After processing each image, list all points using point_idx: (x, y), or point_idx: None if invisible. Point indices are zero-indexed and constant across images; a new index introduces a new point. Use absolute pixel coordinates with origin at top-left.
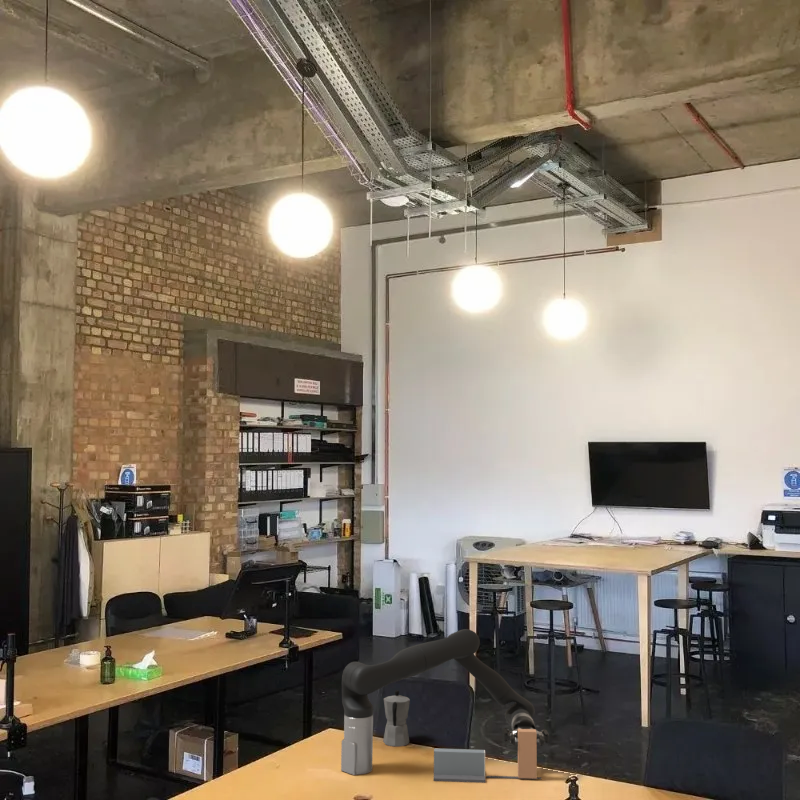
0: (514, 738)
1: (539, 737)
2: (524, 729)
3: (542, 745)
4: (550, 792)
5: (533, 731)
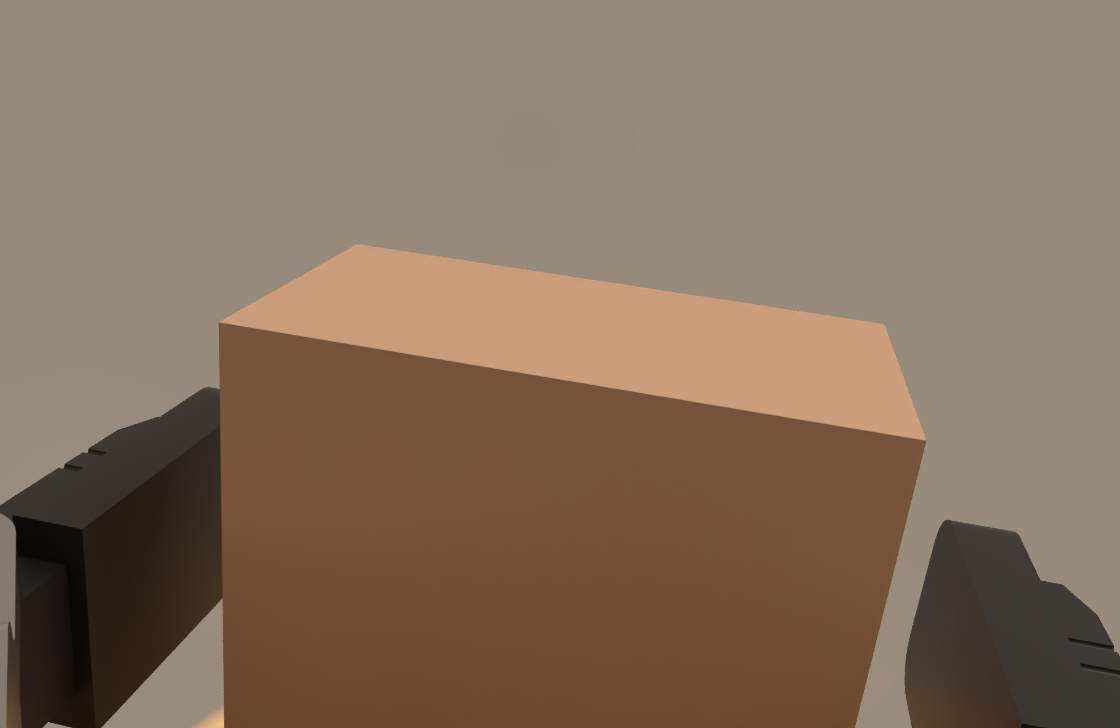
0: (959, 524)
1: (146, 505)
2: (654, 369)
3: None
4: None
5: (417, 268)
